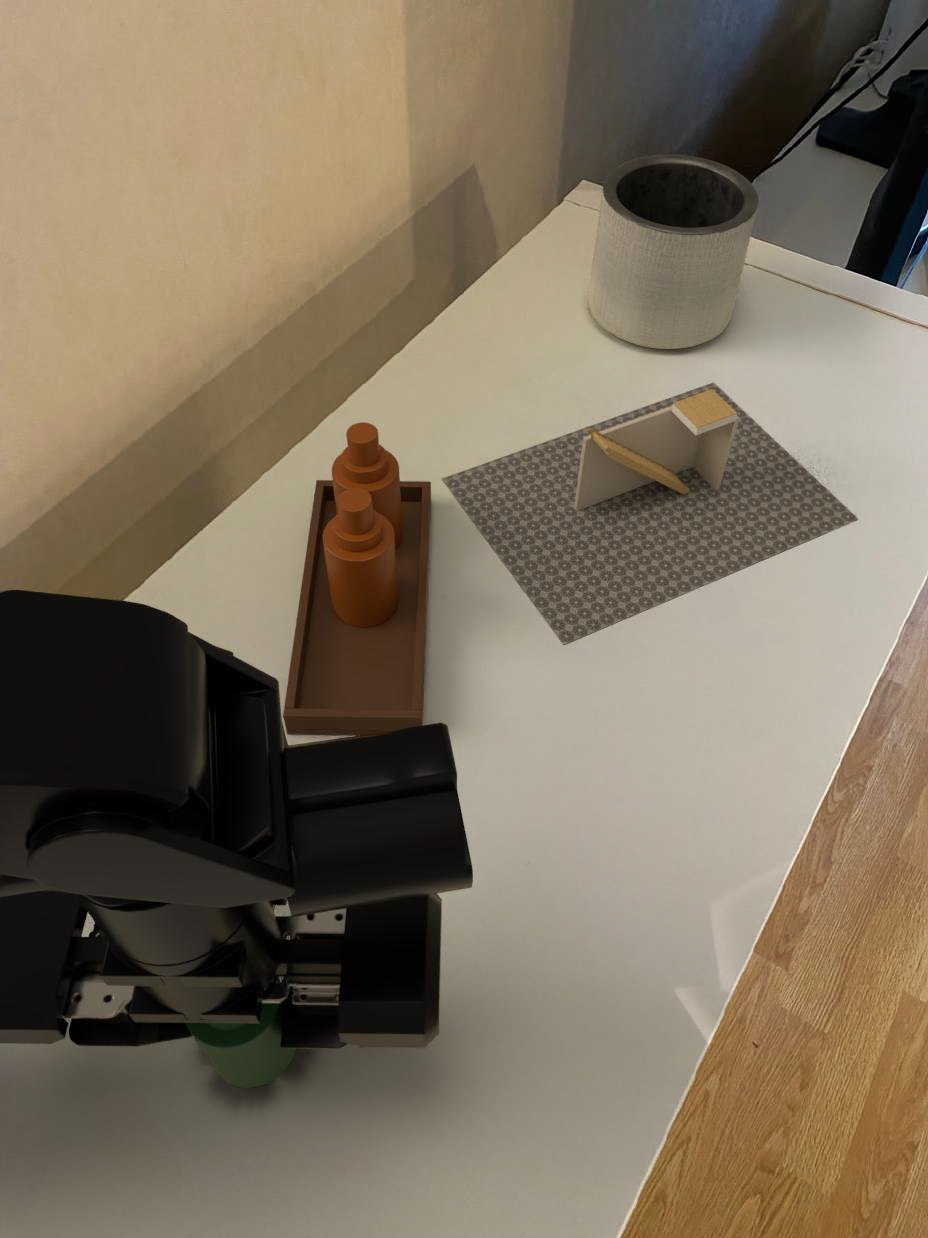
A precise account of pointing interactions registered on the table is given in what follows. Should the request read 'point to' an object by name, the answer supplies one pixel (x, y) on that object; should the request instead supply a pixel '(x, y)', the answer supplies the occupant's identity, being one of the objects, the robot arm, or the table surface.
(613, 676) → the table surface
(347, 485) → the amber bottle far
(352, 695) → the tray
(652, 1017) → the table surface
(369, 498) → the amber bottle middle
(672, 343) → the planter
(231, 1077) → the green bottle
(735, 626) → the table surface
